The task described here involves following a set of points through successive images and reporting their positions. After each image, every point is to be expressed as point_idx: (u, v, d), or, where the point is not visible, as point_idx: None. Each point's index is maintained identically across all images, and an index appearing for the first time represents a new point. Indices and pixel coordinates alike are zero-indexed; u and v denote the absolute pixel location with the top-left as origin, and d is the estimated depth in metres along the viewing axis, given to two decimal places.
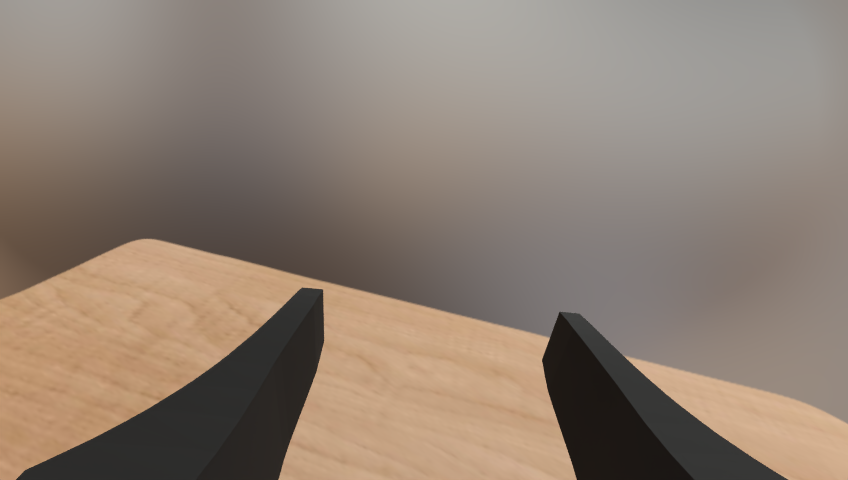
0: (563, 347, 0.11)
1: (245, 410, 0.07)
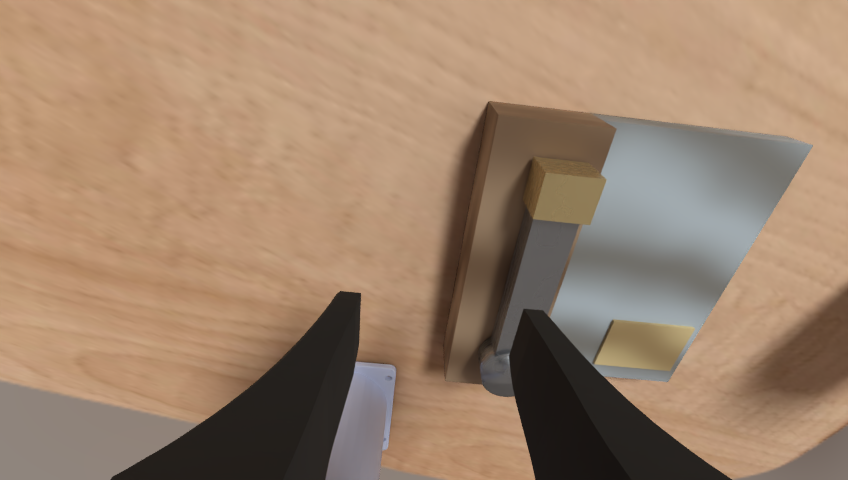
0: (525, 344, 0.11)
1: (309, 415, 0.07)
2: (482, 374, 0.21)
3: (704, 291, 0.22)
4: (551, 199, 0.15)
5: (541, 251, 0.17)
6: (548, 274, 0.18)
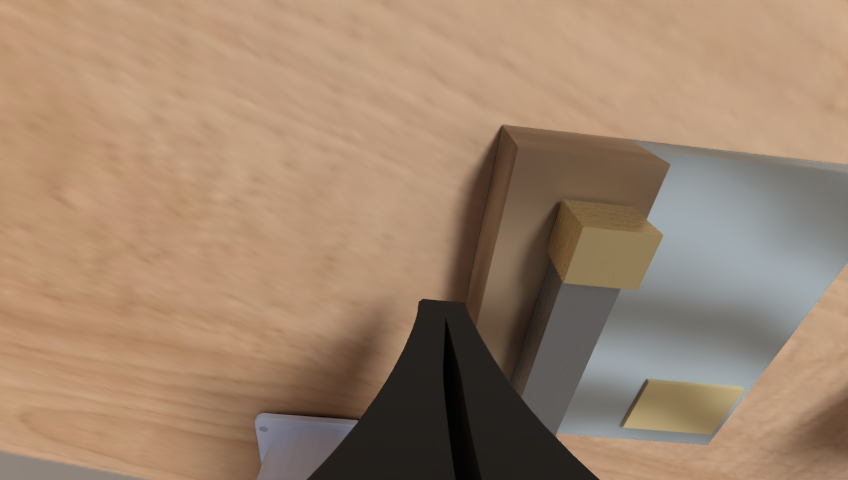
0: None
1: (447, 426, 0.07)
2: None
3: (758, 348, 0.18)
4: (589, 259, 0.12)
5: (570, 318, 0.14)
6: (578, 344, 0.14)
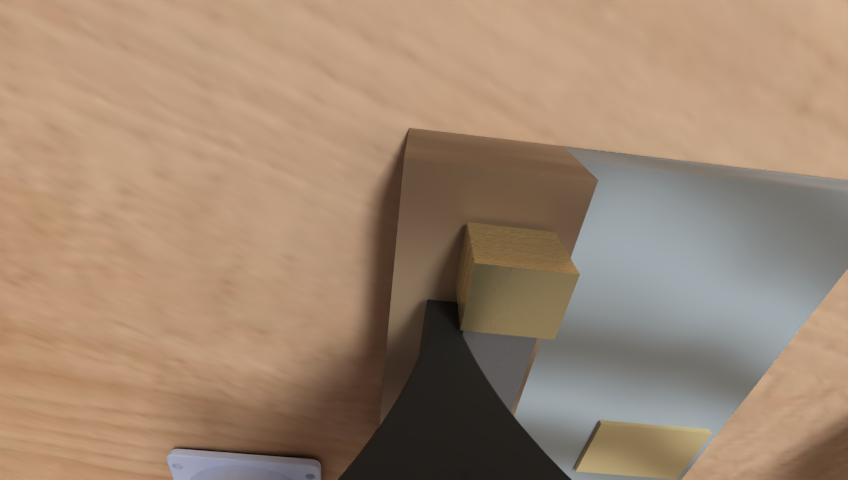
0: (424, 335, 0.11)
1: (470, 428, 0.07)
2: None
3: (726, 388, 0.16)
4: (488, 302, 0.09)
5: (481, 368, 0.11)
6: None
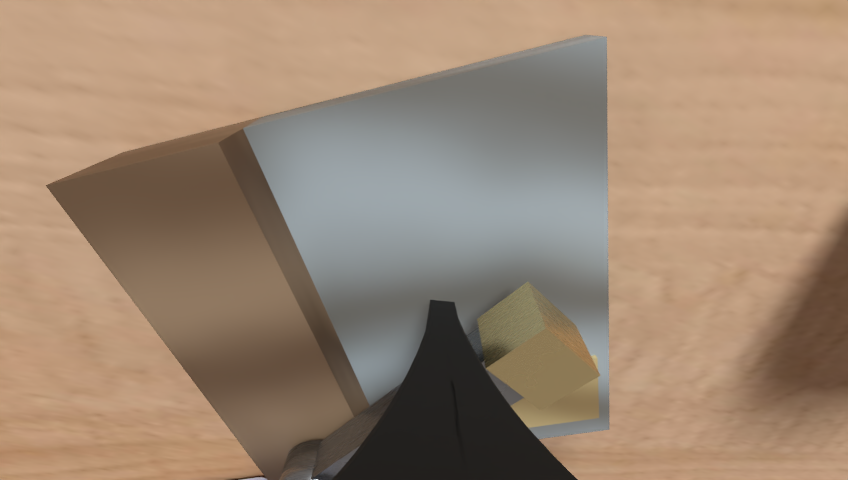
0: None
1: (465, 428, 0.07)
2: None
3: (577, 306, 0.14)
4: (525, 360, 0.10)
5: None
6: None
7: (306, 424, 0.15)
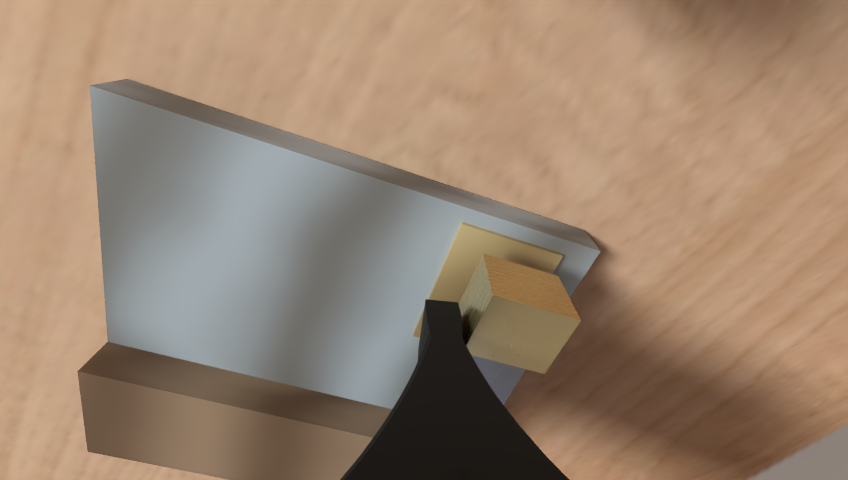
0: (423, 334, 0.11)
1: (471, 428, 0.07)
2: None
3: (378, 212, 0.12)
4: (494, 332, 0.10)
5: None
6: None
7: None
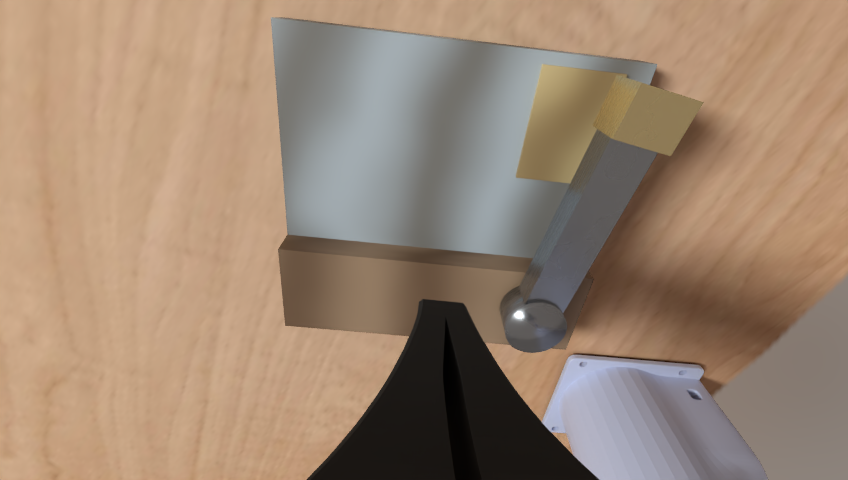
0: None
1: (447, 426, 0.07)
2: (507, 323, 0.19)
3: (477, 71, 0.17)
4: (638, 117, 0.14)
5: (606, 184, 0.16)
6: (606, 213, 0.16)
7: (486, 299, 0.21)
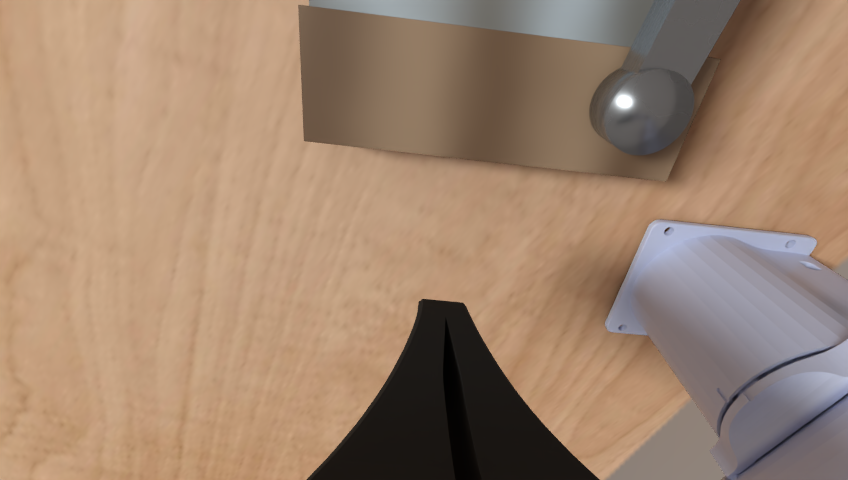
0: None
1: (447, 426, 0.07)
2: (612, 101, 0.14)
3: None
4: None
5: None
6: None
7: (572, 95, 0.16)
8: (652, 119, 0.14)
